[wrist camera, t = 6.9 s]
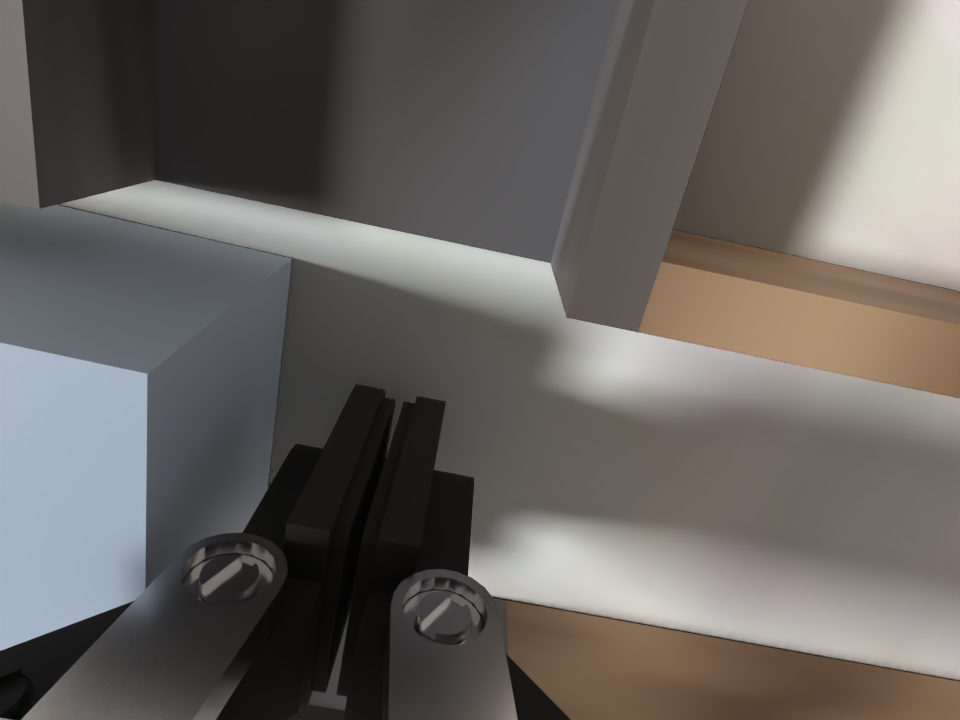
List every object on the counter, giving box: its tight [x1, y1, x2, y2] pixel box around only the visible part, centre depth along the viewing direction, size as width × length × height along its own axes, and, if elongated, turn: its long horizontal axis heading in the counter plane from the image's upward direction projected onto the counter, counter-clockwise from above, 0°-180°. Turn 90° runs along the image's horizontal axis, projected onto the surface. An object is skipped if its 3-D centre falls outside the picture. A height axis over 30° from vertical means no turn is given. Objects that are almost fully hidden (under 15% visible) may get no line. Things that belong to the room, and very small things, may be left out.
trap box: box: [0, 0, 960, 720], centre depth 10 cm, size 33×19×5 cm, turn 78°
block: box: [0, 201, 292, 651], centre depth 10 cm, size 6×6×5 cm
